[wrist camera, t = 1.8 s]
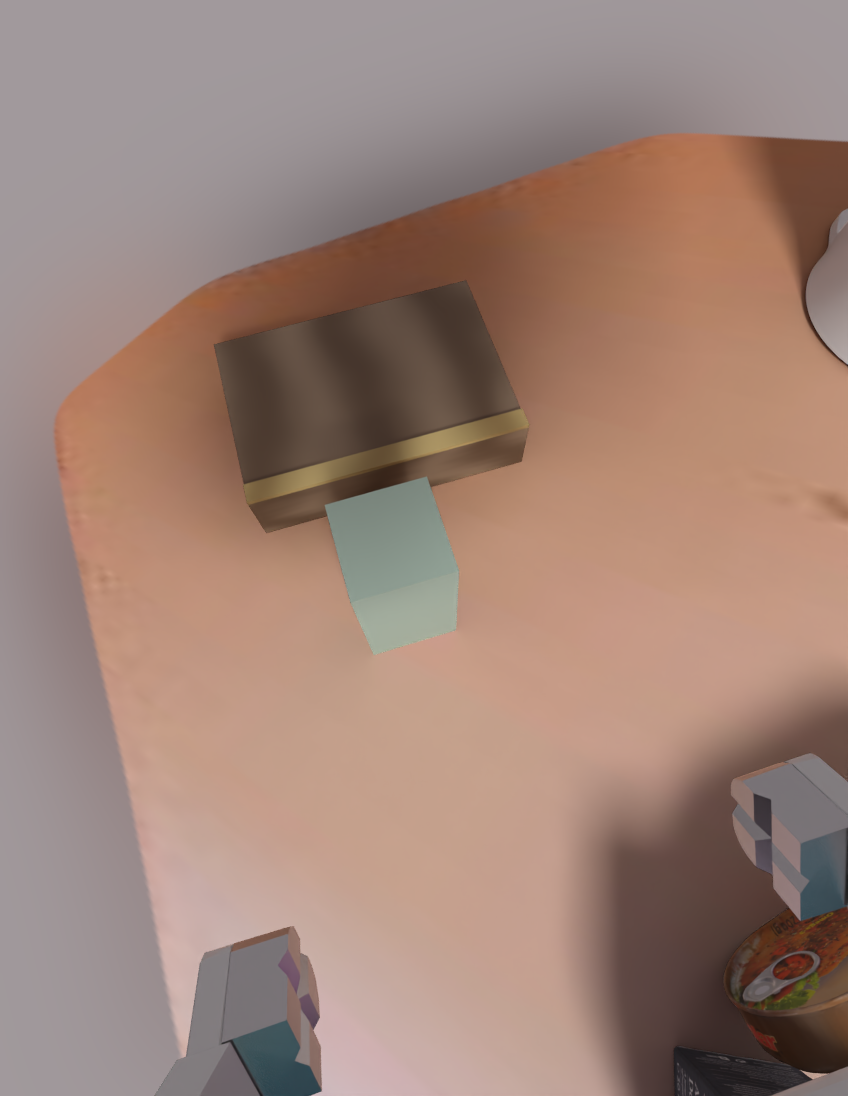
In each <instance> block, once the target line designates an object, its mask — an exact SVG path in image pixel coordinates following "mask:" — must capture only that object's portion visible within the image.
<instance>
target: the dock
mask: <svg viewBox="0 0 848 1096" xmlns="http://www.w3.org/2000/svg"><path fill="white" fill-rule="evenodd" d="M214 347H215V352H216V357H217V361H218V366H219V371H220V375H221V380H222V385H223V389H224V394H225V399H226V403H227V408H228V413H229V417H230V422H231V427H232V431H233V436H234V441H235V445H236V450H237V454H238V459H239V464H240V468H241V473H242V478H243V482H244V485H243V487H244V492H245V496H246V501H247V504H248V505H249V507H250V508H251V510H252V511H253V513H254V515H255V516H256V518H257V519H258V521H259V522H260V524H261V526H262V527H263V529H264V530H265V532H266V533H268V532H272V531H275V530H279V529H282V528H286V527H289V526H293V525H297V524H300V523H304V522H307V521H311V520H314V519H318V518H322V517H325V516H327V512H326V509H325V505H326V504H330V503H333V502H337V501H341V500H344V499H348V498H351V497H355V496H359V495H362V494H366V493H369V492H373V491H376V490H380V489H384V488H387V487H391V486H394V485H398V484H402V483H405V482H409V481H412V480H416V479H420V478H423V477H427V478H428V481H429V484H430V487H432V486H436V485H439V484H443V483H447V482H450V481H454V480H457V479H461V478H464V477H468V476H471V475H475V474H479V473H482V472H486V471H489V470H493V469H496V468H500V467H504V466H507V465H511V464H514V463H518V462H521V461H522V457H523V452H524V447H525V443H526V438H527V433H528V429H529V423H528V420H527V418H526V416H525V413H524V411H523V409H521V408H520V406H519V404H518V401H517V399H516V396H515V394H514V392H513V389H512V387H511V385H510V382H509V380H508V378H507V375H506V373H505V371H504V368H503V366H502V364H501V361H500V359H499V356H498V354H497V352H496V349H495V347H494V345H493V342H492V340H491V338H490V335H489V333H488V331H487V328H486V326H485V323H484V321H483V319H482V316H481V314H480V312H479V309H478V307H477V305H476V302H475V300H474V298H473V295H472V293H471V291H470V288H469V286H468V283H467V281H462V282H458V283H454V284H450V285H446V286H442V287H438V288H434V289H430V290H426V291H422V292H418V293H414V294H411V295H407V296H403V297H399V298H395V299H391V300H387V301H383V302H379V303H375V304H371V305H367V306H363V307H359V308H356V309H352V310H348V311H344V312H340V313H336V314H332V315H328V316H324V317H320V318H316V319H312V320H308V321H304V322H301V323H297V324H293V325H289V326H285V327H281V328H277V329H273V330H269V331H265V332H261V333H257V334H253V335H250V336H246V337H242V338H238V339H234V340H230V341H226V342H222V343H218V344H214Z"/></svg>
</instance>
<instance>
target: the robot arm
mask: <svg viewBox="0 0 848 1096" xmlns="http://www.w3.org/2000/svg"><path fill="white" fill-rule="evenodd" d="M806 303H807V309H808V313H809V316H810V318H811V321H812V323H813V325H814V327H815V329H816V331H817V332H818V334H819V335H820V337H821V338H822V340H823V341H824V342H825V343H826V345H827V346H828V347H829V348H830V349H831V350H832V351H833V352H834V353H835V354H836V355H837V356H838V357H839V358H840V359H841V360H843V361H844V362H845V363H846V364H848V209H846V210H844V211H842V212H841V213H840V215H839V216H838V217H837V218H836V220H835V221H834V222H833V223H832V225H831V228H830V233H829V246H828V248H827V250H826V252H825V253H824V255H823V256H822V257H821V258H820V259H819V261H818V262H817V263H816V265H815V266H814V268H813V269H812V271H811V273H810V276H809V278H808V282H807V287H806ZM731 796H732V797H733V798H734V799H735V800H736V801H737V803H738V805H737V806H736V808H735V810H734V811H733V813H732V817H733V827H734V830H735V833H736V836H737V838H738V841H739V843H740V845H741V847H742V848H743V850H744V852H745V853H746V855H747V856H748V857H749V859H750V860H751V861H752V863H753V864H754V865H755V866H756V867H757V868H759V869H761V870H764V871H766V872H768V873H770V874H772V875H773V888H774V890H775V891H776V892H777V893H778V895H779V896H780V897H781V898H782V899H783V901H784V902H785V903H786V904H787V905H788V907H789V908H790V909H791V910H792V912H793V913H794V914H795V915H796V916H797V918H798V919H799V920H800V921H803V920H806V919H809V918H812V917H815V916H818V915H822V914H825V913H828V912H831V911H834V910H837V909H840V908H843V907H847V906H848V782H847V781H846V780H845V779H844V778H843V777H841V776H840V775H839V774H838V773H837V772H836V771H834V770H833V769H832V768H831V767H830V766H829V765H827V764H826V763H825V762H824V761H823V760H822V759H820V758H819V757H818V756H817V755H814V754H812V753H808V754H805V755H802V756H799V757H796V758H793V759H790V760H787V761H784V762H780V763H777V764H774V765H771V766H768V767H765V768H762V769H760V770H757V771H754V772H751V773H748V774H745V775H742V776H739V777H737V778H734V779H733V781H732V783H731ZM319 1018H320V1014H319V997H318V991H317V984H316V979H315V975H314V972H313V968H312V965H311V963H310V960H309V958H308V956H306V955H304V954H301V953H300V938H299V936H298V934H297V932H296V930H295V928H294V926H291V927H287V928H284V929H280V930H277V931H274V932H270V933H267V934H264V935H260V936H257V937H254V938H251V939H247V940H244V941H241V942H237V943H234V944H232V945H228V946H225V947H222V948H219V949H216V950H212V951H209V952H206V953H204V956H203V958H202V960H201V962H200V966H199V973H198V979H197V986H196V993H195V1000H194V1006H193V1013H192V1020H191V1027H190V1033H189V1040H188V1047H187V1054H186V1057H184V1058H181V1059H178V1060H177V1061H176V1062H175V1064H174V1066H173V1067H172V1069H171V1071H170V1072H169V1073H168V1075H167V1077H166V1078H165V1080H164V1081H163V1083H162V1084H161V1086H160V1088H159V1089H158V1091H157V1092H156V1094H155V1096H311V1095H313V1094H316V1093H318V1092H321V1091H322V1078H321V1046H320V1044H319V1042H318V1039H317V1037H316V1035H315V1033H314V1031H313V1030H314V1028H315V1026H316V1024H317V1022H318V1020H319ZM771 1096H848V1067H845V1068H843V1069H840V1070H837V1071H835V1072H832V1073H829V1074H827V1075H824V1076H821V1077H819V1078H816V1079H814V1080H811V1081H808V1082H806V1083H803V1084H800V1085H798V1086H795V1087H792V1088H790V1089H787V1090H784V1091H782V1092H779V1093H776V1094H774V1095H771Z"/></svg>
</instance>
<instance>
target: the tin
mask: <svg viewBox="0 0 848 1096" xmlns="http://www.w3.org/2000/svg"><path fill="white" fill-rule="evenodd" d="M723 985H724V989H725V992H726V994H727V996H728V998H729V999H730V1000H731V1002H732V1003H733V1004H734V1005H736V1007H737V1008H738V1010H739V1011H740V1013H741V1015H742V1017H743V1018H744V1020H745V1022H746V1024H747V1025H748V1027H749V1029H750V1030H751V1032H752V1033H753V1035H754V1036H755V1038H756V1040H757V1041H758V1042H759V1044H760V1045H761V1046H762V1048H763V1049H764V1050H765V1051H766V1052H768V1053H769V1054H770V1055H771V1056H773V1057H774V1058H776V1059H778V1060H780V1061H782V1062H784V1063H786V1064H788V1065H790V1066H792V1067H794V1068H796V1069H799V1070H802V1071H806V1072H810V1073H826V1074H828V1073H832V1072H835V1071H837V1070H840V1069H843V1068H845V1067H848V906H847V907H843V908H840V909H837V910H834V911H831V912H828V913H825V914H822V915H818V916H815V917H812V918H809V919H806V920H803V921H800V920H799V919H798V918H797V916H796V915H795V914H794V913H793V912H792V910H791V909H790V908H789V909H787V910H786V911H784V912H783V913H781V914H780V915H778V916H777V917H775V918H774V919H772V920H771V921H769V922H768V923H767V924H765V925H764V926H762V927H761V928H759V929H758V930H757V931H755V932H754V933H753V934H752V935H750V936H749V937H748V938H747V939H746V940H745V941H744V942H743V943H742V944H741V945H740V946H739V948H738V949H737V950H736V951H735V952H734V954H733V955H732V957H731V958H730V960H729V962H728V964H727V966H726V969H725V972H724V979H723Z"/></svg>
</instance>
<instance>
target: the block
mask: <svg viewBox="0 0 848 1096" xmlns="http://www.w3.org/2000/svg"><path fill="white" fill-rule="evenodd" d="M325 509H326V512H327V516H328V520H329V524H330V527H331V531H332V535H333V539H334V542H335V546H336V550H337V554H338V557H339V561H340V565H341V569H342V572H343V576H344V580H345V584H346V587H347V591H348V595H349V599H350V603H351V605H352V607H353V609H354V611H355V614H356V616H357V618H358V620H359V623H360V625H361V627H362V629H363V632H364V634H365V636H366V638H367V641H368V643H369V645H370V647H371V650H372V652H373V654H374V655H375V654H379V653H382V652H385V651H389V650H392V649H395V648H399V647H402V646H405V645H409V644H412V643H415V642H419V641H422V640H425V639H429V638H432V637H435V636H439V635H442V634H445V633H449V632H452V631H455V630H456V620H457V601H458V582H459V569H458V566H457V563H456V560H455V558H454V555H453V552H452V549H451V546H450V543H449V540H448V537H447V534H446V531H445V528H444V525H443V522H442V519H441V517H440V514H439V511H438V508H437V505H436V502H435V499H434V496H433V493H432V490H431V487H430V484H429V481H428V478H427V477H423V478H420V479H416V480H412V481H409V482H405V483H402V484H398V485H394V486H391V487H387V488H384V489H380V490H376V491H373V492H369V493H366V494H362V495H359V496H355V497H351V498H348V499H344V500H341V501H337V502H333V503H330V504H326V505H325Z"/></svg>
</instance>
